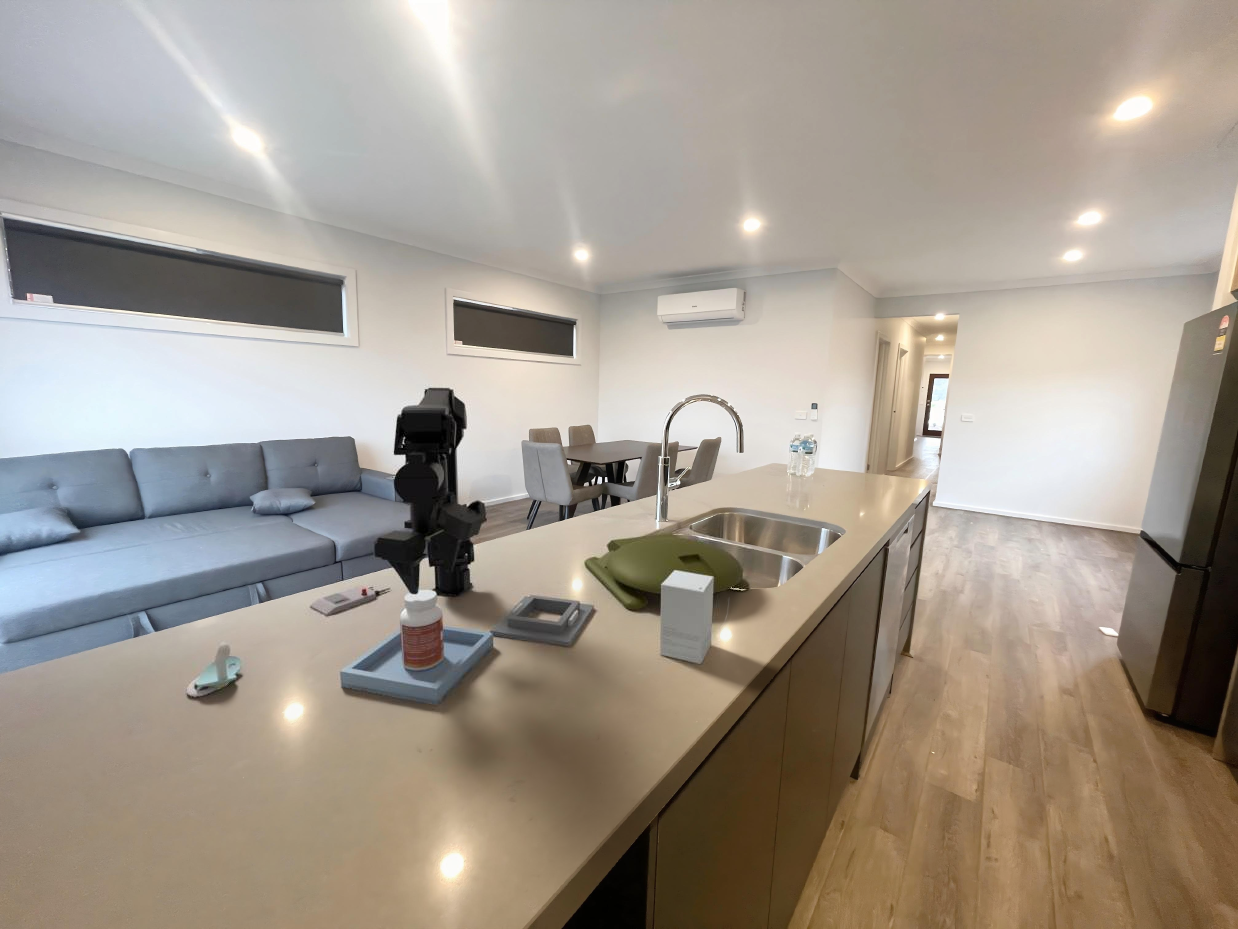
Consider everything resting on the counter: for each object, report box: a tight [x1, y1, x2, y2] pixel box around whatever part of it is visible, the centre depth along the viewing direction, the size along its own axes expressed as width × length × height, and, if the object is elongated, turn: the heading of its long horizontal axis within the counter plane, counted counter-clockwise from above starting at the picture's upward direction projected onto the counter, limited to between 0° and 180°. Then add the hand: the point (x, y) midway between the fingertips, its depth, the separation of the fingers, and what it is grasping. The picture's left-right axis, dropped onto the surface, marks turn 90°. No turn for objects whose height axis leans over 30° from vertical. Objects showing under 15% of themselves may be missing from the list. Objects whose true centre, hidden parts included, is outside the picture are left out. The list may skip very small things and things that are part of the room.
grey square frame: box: [489, 594, 595, 648], centre depth 92 cm, size 15×15×2 cm
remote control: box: [309, 585, 391, 617], centre depth 99 cm, size 7×16×3 cm, turn 147°
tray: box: [339, 625, 494, 706], centre depth 77 cm, size 16×16×2 cm
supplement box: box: [659, 570, 714, 665], centre depth 82 cm, size 7×7×13 cm
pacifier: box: [186, 642, 243, 698], centre depth 71 cm, size 7×6×6 cm
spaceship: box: [583, 533, 750, 611], centre depth 112 cm, size 35×31×10 cm
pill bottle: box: [399, 589, 444, 671], centre depth 76 cm, size 6×6×11 cm
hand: (432, 582), depth 78 cm, fingers open, 9 cm apart
